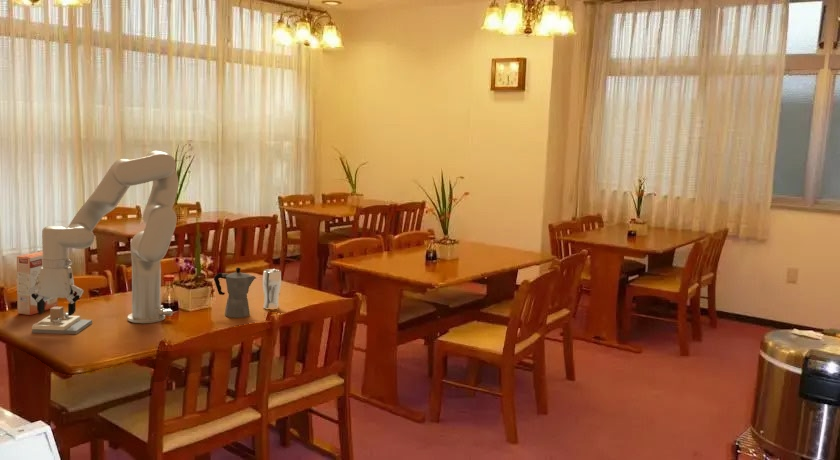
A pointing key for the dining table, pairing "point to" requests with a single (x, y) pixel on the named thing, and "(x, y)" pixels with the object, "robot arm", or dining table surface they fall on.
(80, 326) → the board
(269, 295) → the beer glass
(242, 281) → the coffeepot
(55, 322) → the bosses
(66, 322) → the panel
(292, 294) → the dining table surface
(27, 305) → the cracker box
